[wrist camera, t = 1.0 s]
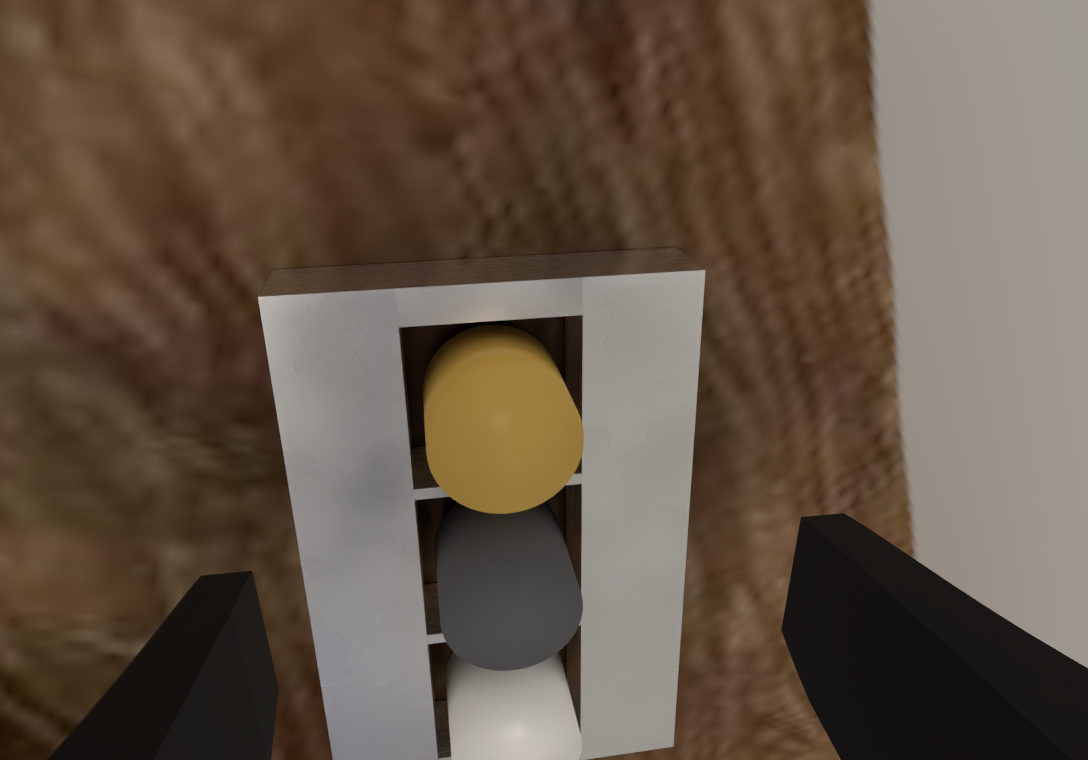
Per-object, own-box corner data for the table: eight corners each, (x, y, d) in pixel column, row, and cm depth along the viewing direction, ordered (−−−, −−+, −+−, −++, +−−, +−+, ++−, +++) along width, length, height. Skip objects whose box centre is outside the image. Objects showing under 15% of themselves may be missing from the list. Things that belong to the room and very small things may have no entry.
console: (652, 693, 27) (673, 746, 25) (343, 735, 25) (338, 796, 23) (676, 247, 21) (705, 269, 19) (272, 269, 19) (257, 296, 17)
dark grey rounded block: (560, 586, 23) (582, 661, 20) (439, 599, 22) (444, 679, 19) (560, 480, 21) (583, 546, 19) (430, 493, 21) (435, 562, 18)
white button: (561, 706, 24) (581, 791, 22) (449, 722, 24) (455, 810, 21) (561, 616, 23) (582, 694, 20) (441, 631, 23) (447, 713, 20)
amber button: (559, 444, 21) (583, 506, 18) (427, 456, 20) (431, 521, 18) (558, 320, 19) (584, 366, 17) (417, 329, 19) (420, 379, 16)
